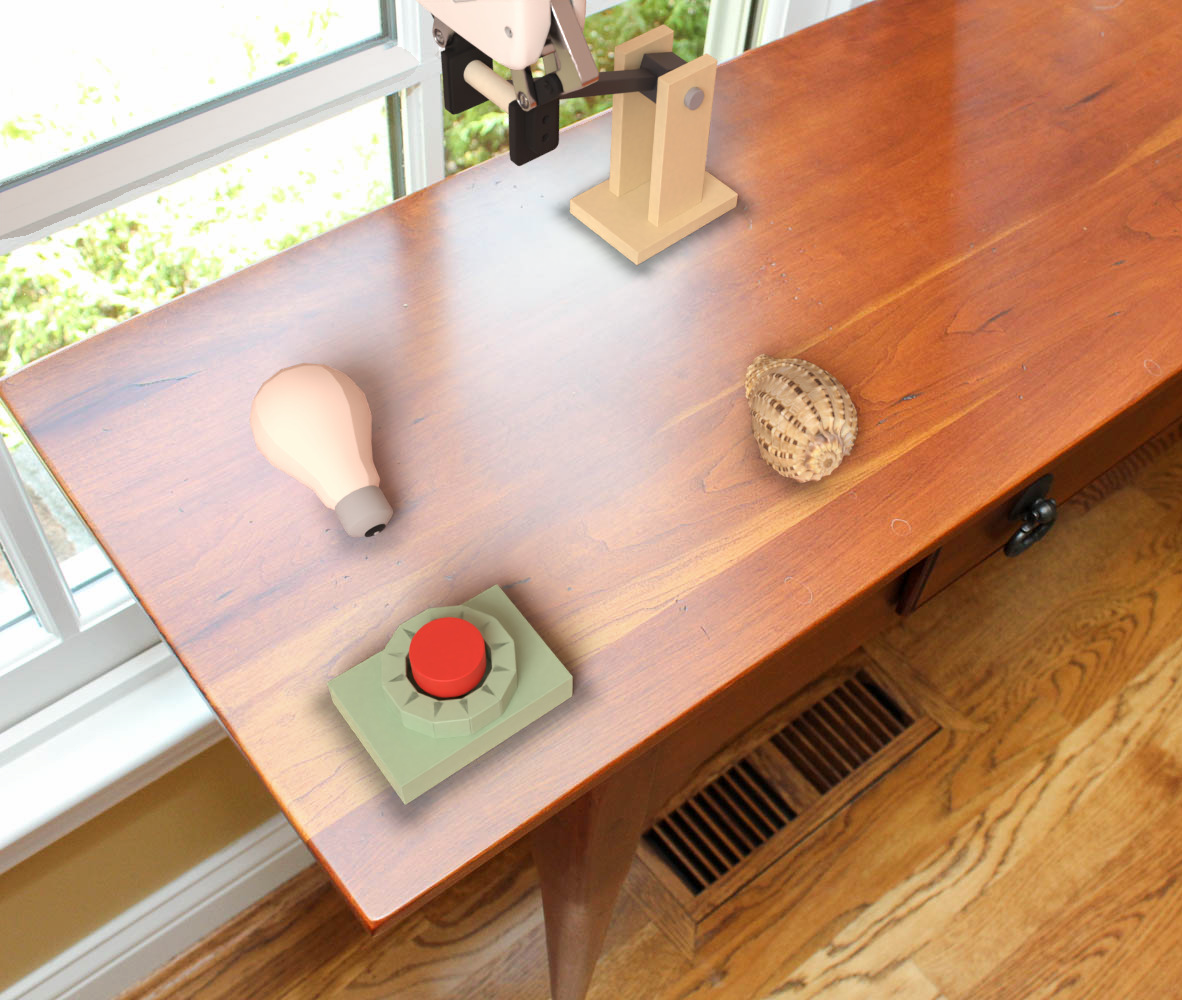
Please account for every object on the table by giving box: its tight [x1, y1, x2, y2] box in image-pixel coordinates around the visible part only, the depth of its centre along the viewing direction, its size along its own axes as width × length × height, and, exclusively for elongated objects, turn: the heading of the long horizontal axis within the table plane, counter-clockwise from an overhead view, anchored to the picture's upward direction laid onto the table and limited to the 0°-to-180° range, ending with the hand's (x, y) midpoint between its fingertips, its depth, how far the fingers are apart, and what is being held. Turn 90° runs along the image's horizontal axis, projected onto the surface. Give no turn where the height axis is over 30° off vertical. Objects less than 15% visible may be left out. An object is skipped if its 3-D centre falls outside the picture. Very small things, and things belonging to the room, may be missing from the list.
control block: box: [326, 583, 574, 806], centre depth 62 cm, size 10×7×4 cm
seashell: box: [744, 353, 859, 484], centre depth 76 cm, size 8×6×10 cm
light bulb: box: [249, 362, 394, 538], centre depth 69 cm, size 7×7×11 cm
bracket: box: [569, 24, 739, 266], centre depth 83 cm, size 10×7×13 cm
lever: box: [464, 51, 688, 115], centre depth 75 cm, size 16×5×2 cm, turn 137°
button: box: [409, 617, 486, 698], centre depth 60 cm, size 4×4×2 cm
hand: (501, 126), depth 71 cm, fingers closed on lever, 5 cm apart
